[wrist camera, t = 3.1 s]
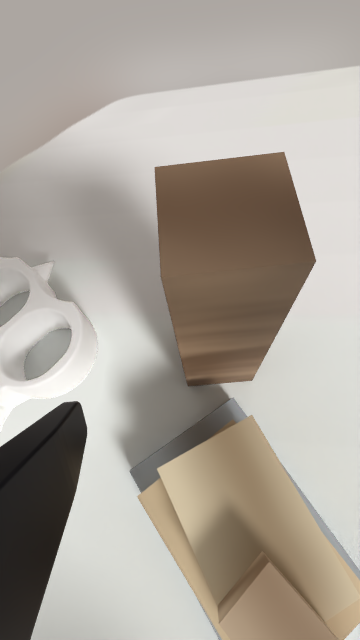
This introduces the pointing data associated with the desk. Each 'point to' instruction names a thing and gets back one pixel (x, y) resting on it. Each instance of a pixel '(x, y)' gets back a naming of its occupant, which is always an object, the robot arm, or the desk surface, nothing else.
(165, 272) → the walnut block
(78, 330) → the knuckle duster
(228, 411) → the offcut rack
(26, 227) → the desk surface
